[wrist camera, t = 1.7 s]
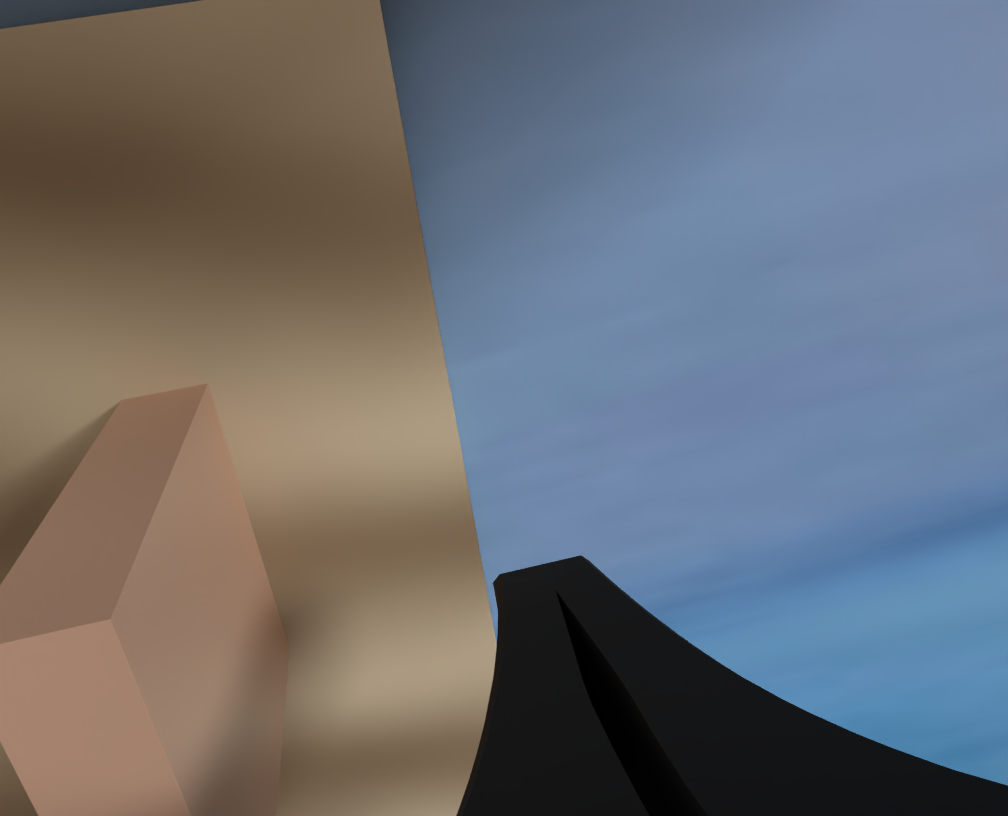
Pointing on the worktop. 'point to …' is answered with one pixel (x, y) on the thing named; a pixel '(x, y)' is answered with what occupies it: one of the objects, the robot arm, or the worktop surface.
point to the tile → (145, 630)
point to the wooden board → (255, 353)
